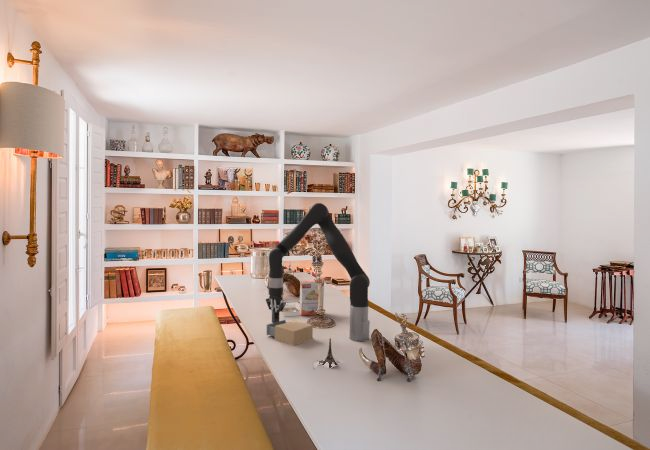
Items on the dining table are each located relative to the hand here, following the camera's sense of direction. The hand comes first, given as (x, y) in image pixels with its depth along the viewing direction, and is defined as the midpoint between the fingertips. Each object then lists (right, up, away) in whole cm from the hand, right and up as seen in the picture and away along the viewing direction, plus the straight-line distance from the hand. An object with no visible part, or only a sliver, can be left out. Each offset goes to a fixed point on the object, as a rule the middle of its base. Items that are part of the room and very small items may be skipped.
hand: (275, 318), depth 224 cm
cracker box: (+18, -6, +40) cm, 44 cm away
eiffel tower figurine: (+28, -12, -40) cm, 51 cm away
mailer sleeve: (+10, -9, -8) cm, 16 cm away
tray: (+5, -8, -3) cm, 9 cm away
